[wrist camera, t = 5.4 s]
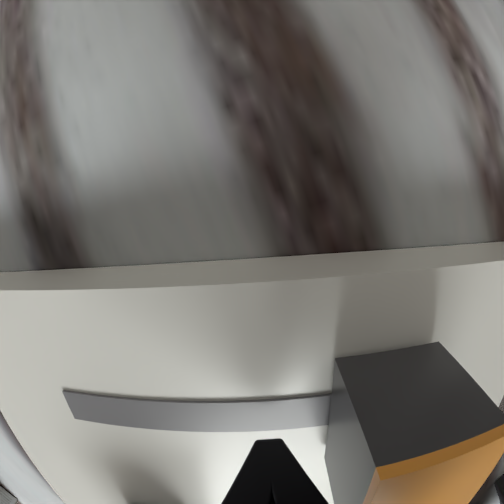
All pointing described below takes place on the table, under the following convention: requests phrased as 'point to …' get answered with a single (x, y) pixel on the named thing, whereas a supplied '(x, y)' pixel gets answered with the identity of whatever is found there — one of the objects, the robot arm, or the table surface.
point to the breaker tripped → (409, 429)
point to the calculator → (500, 488)
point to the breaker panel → (221, 359)
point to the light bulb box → (7, 497)
